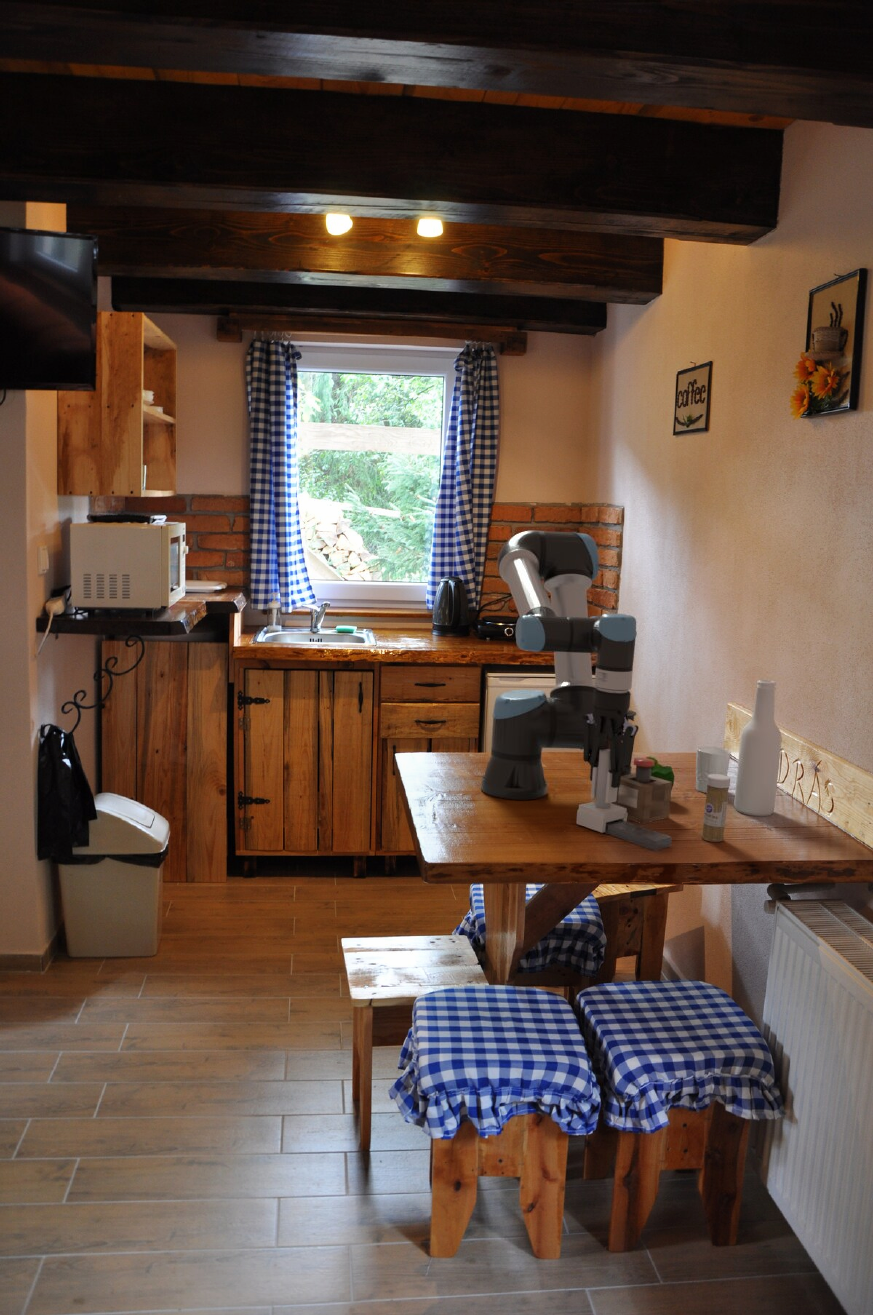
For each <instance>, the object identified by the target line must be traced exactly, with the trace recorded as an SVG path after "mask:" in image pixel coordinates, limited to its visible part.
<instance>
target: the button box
mask: <svg viewBox="0 0 873 1315" xmlns="http://www.w3.org/2000/svg"><path fill="white" fill-rule="evenodd" d="M635 775H636V772H634V773H631V774H629V775H624V776H621V780H620V781H621V782H620V787H618V788H617V799H616V801H615V802H611V803H612V804H615V805H618V806H621V807H624V808H627V810H626V812H627V820H629V819H630V820H629V821H632V822H635V821H637V822H636V823H638V822H640V823H639V824H641V823H642V824H641V825H645V824H649V823H651V822H650V821H653V822H656V820H657V821H659V819H661V820H663V819H662V818H664V819H667V818H669V817H670V809H671V796H672V791H671V788H672V789H673V787H672V782H670V781H667V780H663V779H660V778H657V777H653V776H650V783H646V784H643V783H640V782H636V781H635ZM648 822H649V823H648Z"/></svg>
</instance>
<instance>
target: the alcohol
mask: <svg viewBox="0 0 873 1315" xmlns="http://www.w3.org/2000/svg"><path fill="white" fill-rule="evenodd" d="M756 683H757V685H756V689H757V690H756V695H755V699H754V700H755V701H754V706H753V710H752V716H751V718H750V720H749V721H748V722H747V723H746V724H745V725H744V726H743V728H742V730H741V733H740V740H739V751H738V762H737V772H736V782H735V792H734V793H735V794H734V802H733V806H734V808H735V811H737V812H739V813H740V814H743V815H747V816H753V817H769V816H771V815H772V814H773V813H774V811H775V808H776V807H775V806H776V797H777V796H776V795H777V788H778V779H779V778H778V777H779V767H780V759H781V749H782V732H781V731H780V728H779V727H778V725H777V724H776V721H775V694H776V693H775V691H776V689H777V688H776V685H777V682H776V681H774V680H768V679H759V680H757V682H756Z"/></svg>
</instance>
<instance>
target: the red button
mask: <svg viewBox="0 0 873 1315" xmlns="http://www.w3.org/2000/svg"><path fill="white" fill-rule="evenodd" d="M654 762H655V761H654V760H652V759H648V758H646V757H635V758H634V759H633V765H634V766H636V767H635V773H636V775H635V781H636V782H640V783H643V784H646V783H650V775H651V767H654Z"/></svg>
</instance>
